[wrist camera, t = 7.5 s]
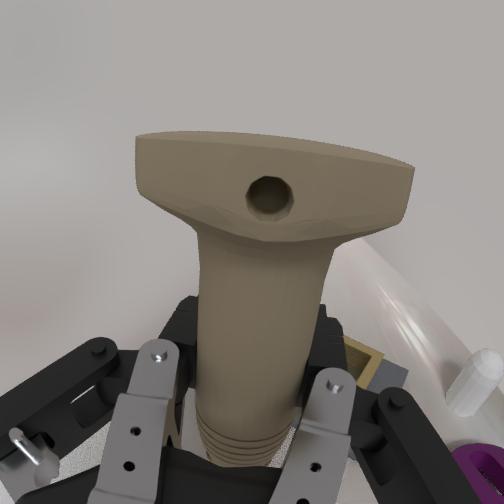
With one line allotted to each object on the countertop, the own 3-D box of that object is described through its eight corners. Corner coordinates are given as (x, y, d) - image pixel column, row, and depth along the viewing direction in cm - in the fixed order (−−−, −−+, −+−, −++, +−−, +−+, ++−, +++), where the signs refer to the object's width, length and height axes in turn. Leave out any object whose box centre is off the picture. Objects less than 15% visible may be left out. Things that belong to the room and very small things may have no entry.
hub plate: (405, 375, 30) (417, 355, 28) (362, 463, 20) (378, 447, 18) (286, 318, 40) (291, 297, 38) (214, 373, 29) (214, 351, 28)
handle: (189, 413, 15) (178, 130, 9) (298, 427, 15) (375, 151, 8) (170, 482, 11) (94, 143, 4) (297, 498, 10) (454, 183, 4)
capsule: (448, 380, 28) (478, 333, 25) (478, 394, 26) (510, 348, 22) (441, 408, 25) (477, 359, 21) (474, 422, 22) (513, 375, 18)
